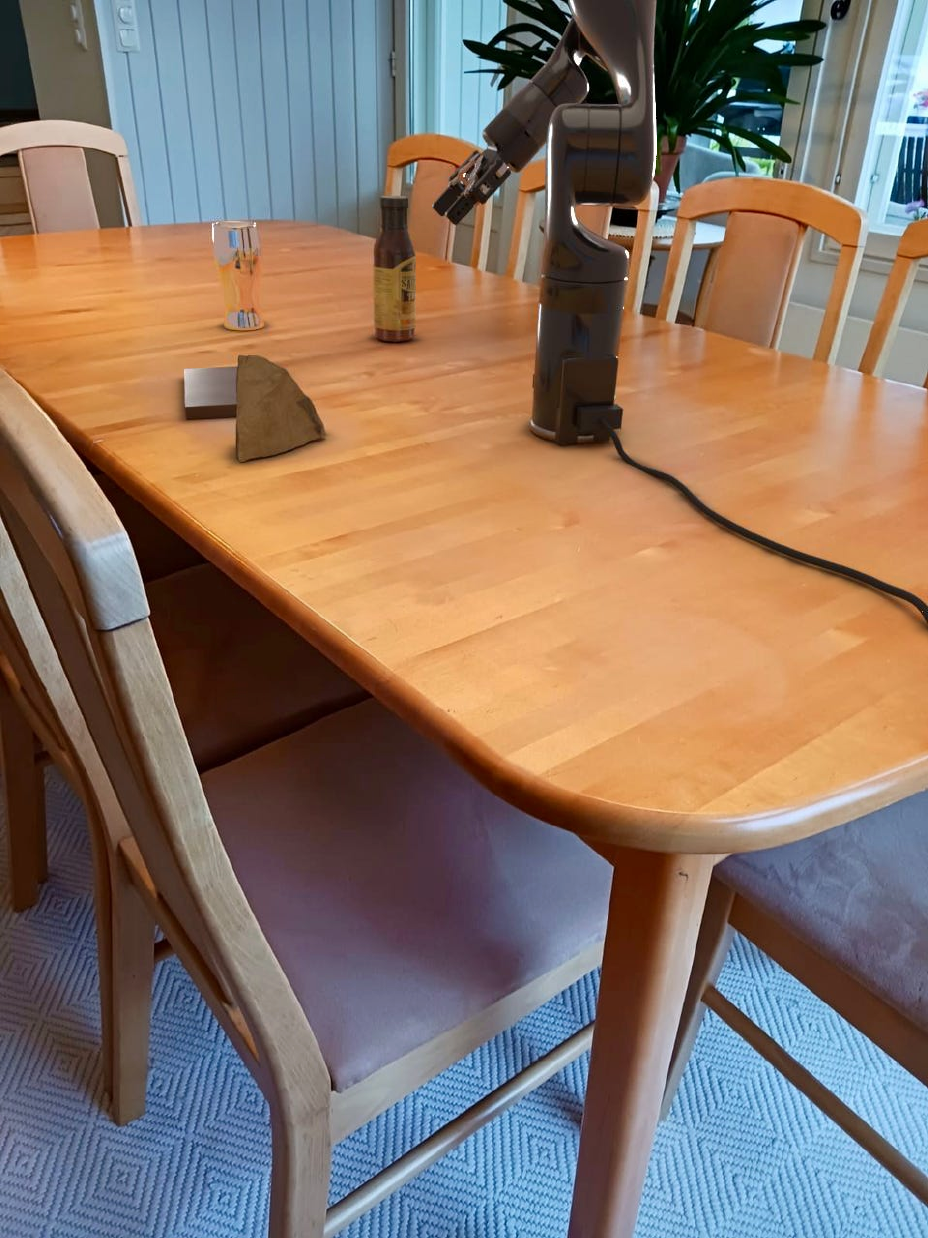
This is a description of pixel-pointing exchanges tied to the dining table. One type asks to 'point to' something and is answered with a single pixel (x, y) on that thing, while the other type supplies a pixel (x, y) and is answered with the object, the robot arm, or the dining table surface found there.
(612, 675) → the dining table surface
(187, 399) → the metal block
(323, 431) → the rock
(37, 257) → the dining table surface
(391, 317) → the sauce bottle
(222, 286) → the beer glass
